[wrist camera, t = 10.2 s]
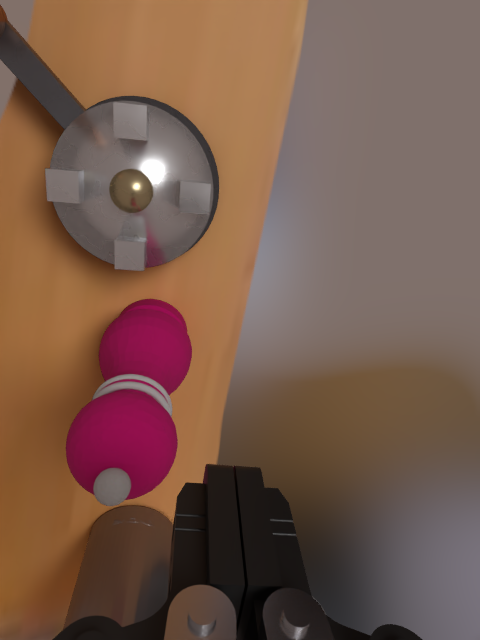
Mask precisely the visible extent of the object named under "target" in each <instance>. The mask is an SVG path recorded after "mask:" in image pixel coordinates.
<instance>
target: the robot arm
mask: <svg viewBox="0 0 480 640" xmlns="http://www.w3.org/2000/svg"><path fill="white" fill-rule="evenodd" d="M53 640H422V639H421V638H420V637H418V636H417V635H416V634H415V633H413V632H412V631H410V630H408V629H406V628H404V627H401V626H398V625H393V624H387V625H382V626H380V627H378V628H377V629H376V630H375V631H374V632H373V633H372V635H371V636H370V635H367V634H364V633H362V632H359V631H356V630H354V629H351V628H348V627H346V626H343V625H341V624H339V623H337V622H335V621H334V620H332V619H331V618H330V617H328V616H327V615H326V614H325V612H324V610H323V608H322V606H321V605H320V604H319V603H318V602H317V601H316V600H315V599H314V598H313V597H312V595H311V592H310V588H309V584H308V580H307V576H306V573H305V568H304V564H303V560H302V556H301V551H300V547H299V543H298V540H297V537H296V531H295V527H294V523H293V519H292V514H291V511H290V507H289V503H288V502H287V500H286V499H285V497H284V496H283V495H282V493H281V492H280V491H279V489H278V488H264V483H263V477H262V472H261V469H260V468H257V467H242V466H234V467H233V466H228V465H227V466H226V465H214V464H206V467H205V473H204V479H203V484H201V483H185V485H184V487H183V488H182V490H181V491H180V493H179V495H178V496H177V503H176V510H175V517H174V524H172V523H171V522H170V521H169V519H168V518H167V517H165V516H164V515H163V514H161V513H160V512H158V511H156V510H153V509H150V508H147V507H141V506H125V507H119V508H116V509H113V510H111V511H109V512H107V513H105V514H103V515H102V516H101V517H100V518H99V519H98V520H97V521H96V522H95V524H94V525H93V527H92V529H91V532H90V536H89V539H88V543H87V546H86V550H85V553H84V557H83V560H82V563H81V567H80V570H79V574H78V577H77V581H76V585H75V588H74V592H73V595H72V599H71V602H70V606H69V609H68V613H67V616H66V620H65V624H64V627H63V631H62V632H60V633H59V634H58V635H57V636H56V637H55V638H54V639H53Z"/></svg>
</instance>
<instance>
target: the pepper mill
mask: <svg viewBox="0 0 480 640" xmlns="http://www.w3.org/2000/svg"><path fill="white" fill-rule="evenodd" d="M191 358H192V347H191V342H190V339H189V336H188V334H187V327H186V323H185V321H184V319H183V317H182V315H181V314H180V312H179V311H178V310H177V309H175V308H174V307H173V306H172V305H170V304H168V303H166V302H163V301H161V300H155V299H145V300H140V301H137V302H135V303H132V304H131V305H129V306H128V307H126V308H125V309H124V310H123V312H122V313H121V314H120V316H119V317H118V318H117V319H115V320H114V321H113V322H112V323H111V324H110V325H109V327H108V328H107V329H106V331H105V333H104V335H103V337H102V340H101V344H100V349H99V362H100V368H101V372H102V375H103V377H104V379H105V381H106V382H104V383H103V384H102V385H101V386H100V387H99V388H98V389H97V391H96V392H95V394H94V396H93V399H92V401H91V402H90V403H88V404H87V405H86V406H85V407H83V408H82V409H81V411H80V412H79V413H78V414H77V416H76V417H75V419H74V421H73V422H72V425H71V427H70V429H69V432H68V436H67V442H66V457H67V463H68V466H69V468H70V471H71V473H72V475H73V476H74V478H75V479H76V481H77V482H78V483H79V484H80V485H81V486H82V487H83V488H84V489H85V490H87V491H88V492H90V493H92V494H94V495H95V497H96V499H97V500H98V501H99V502H100V503H101V504H104V505H106V506H114V505H118V504H120V503H121V502H123V501H124V500H128V499H134V498H137V497H139V496H142V495H144V494H146V493H148V492H150V491H152V490H153V489H154V488H155V487H156V486H158V485H159V484H160V483H161V482H162V481H163V479H164V478H165V477H166V476H167V474H168V473H169V471H170V469H171V467H172V464H173V462H174V459H175V456H176V451H177V434H176V428H175V424H174V422H173V420H172V418H171V416H172V404H171V399H170V397H169V395H170V394H171V393H172V392H174V391H175V390H176V389H177V388H178V386H179V385H180V384H181V383H182V381H183V380H184V378H185V376H186V375H187V372H188V370H189V366H190V362H191Z"/></svg>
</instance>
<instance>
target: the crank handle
mask: <svg viewBox="0 0 480 640" xmlns="http://www.w3.org/2000/svg"><path fill="white" fill-rule="evenodd" d="M0 59H1V60H2V61H3V63H4V64H5V65H6V66H7V67H8V68H9V69H10V70H11V71H12V72H13V74H14V75H15V76H16V77H17V78H18V79H19V80H20V81H21V82H22V83H23V85H24V86H25V87H26V88H27V89H28V90H29V91H30V92H31V93H32V94H33V95H34V97H35V98H36V99H37V100H38V101H39V102H40V103H41V104H42V105H43V106H44V108H45V109H46V110H47V111H48V112H49V113H50V114H51V115H52V116H53V117H54V118H55V120H56V121H57V122H58V123H59V124H60V125H61V126H62V127H63V128H64V129H65V130H64V132H63V134H62V135H61V137H60V138H59V140H58V142H57V144H56V147H55V149H54V152H53V155H52V159H51V164H50V168H45V173H46V190H47V201H53V204H54V207H55V209H56V212H57V215H58V216H59V218H60V220H61V222H62V224H63V226H64V227H65V228H66V230H67V231H68V233H69V234H70V235H71V236H72V237H73V238H74V240H75V241H76V242H77V243H78V244H80V245H81V246H82V247H83V248H84V249H85V250H87V251H88V252H90V253H91V254H92V255H94V256H96V257H98V258H100V259H102V260H104V261H106V262H109V263H111V264H115V269H122V270H137V271H144V270H145V268H146V267H153V266H157V265H161V264H164V263H167V262H169V261H171V260H173V259H175V258H177V257H179V256H180V255H181V254H183V253H184V252H185V251H187V250H188V249H189V248H190V247H191V246H192V245H193V244H194V243H195V242H196V240H197V239H198V238H199V236H200V235H201V233H202V232H203V230H204V228H205V226H206V224H207V221H208V219H209V216H210V212H211V209H212V202H213V180H212V174H211V170H210V166H209V163H208V160H207V157H206V155H205V153H204V151H203V149H202V147H201V145H200V143H199V142H198V140H197V139H196V138H195V136H194V135H193V134H192V133H191V132H190V130H189V129H188V128H187V127H186V126H185V125H184V124H182V123H181V122H180V121H179V120H178V119H177V118H175V117H173V116H172V115H170V114H169V113H167V112H166V111H164V110H161V109H159V108H157V107H155V106H152V105H149V104H146V103H141V102H136V101H114V102H108V103H104V104H101V105H98V106H96V107H93V108H91V109H89V110H86V109H85V108H84V107H83V106H82V105H81V103H80V102H79V101H78V100H77V99H76V98H75V97H74V95H73V94H72V93H71V92H70V91H69V90H68V89H67V87H66V86H65V85H64V84H63V83H62V82H61V81H60V79H59V78H58V77H57V76H56V75H55V74H54V73H53V71H52V70H51V69H50V68H49V67H48V66H47V65H46V63H45V62H44V61H43V60H42V59H41V58H40V57H39V56H38V54H37V53H36V52H35V51H34V50H33V49H32V48H31V46H30V45H29V44H28V43H27V42H26V41H25V40H24V38H23V37H22V36H21V35H20V34H19V33H18V32H17V30H16V29H15V28H14V27H13V26H12V25H11V24H10V23H9V21H8V20H7V16H6V13H5V11H4V10H3V8H2V6H1V5H0Z"/></svg>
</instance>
